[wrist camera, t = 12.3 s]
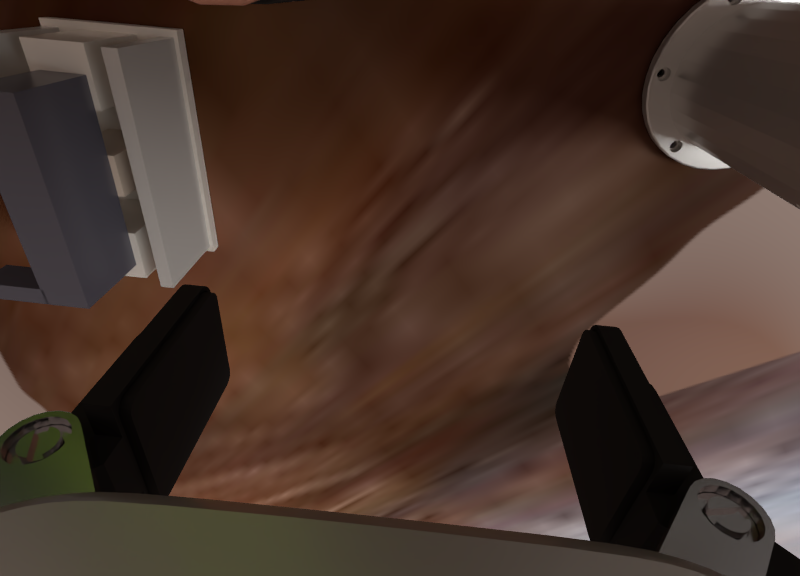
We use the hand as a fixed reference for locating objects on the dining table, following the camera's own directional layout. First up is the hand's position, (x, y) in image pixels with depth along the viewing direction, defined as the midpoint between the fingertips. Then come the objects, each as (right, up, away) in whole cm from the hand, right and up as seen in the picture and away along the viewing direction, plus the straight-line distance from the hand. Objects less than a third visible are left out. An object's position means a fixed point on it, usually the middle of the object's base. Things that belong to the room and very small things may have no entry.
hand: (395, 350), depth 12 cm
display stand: (-21, +14, +27) cm, 37 cm away
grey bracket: (-24, +10, +21) cm, 33 cm away
